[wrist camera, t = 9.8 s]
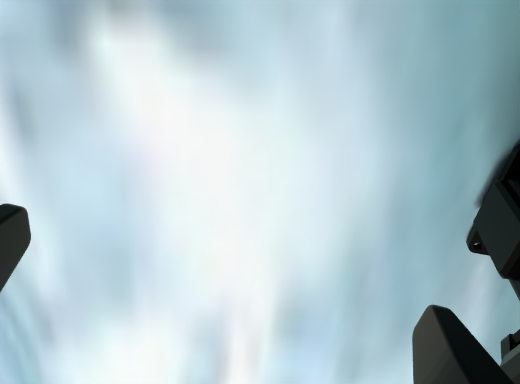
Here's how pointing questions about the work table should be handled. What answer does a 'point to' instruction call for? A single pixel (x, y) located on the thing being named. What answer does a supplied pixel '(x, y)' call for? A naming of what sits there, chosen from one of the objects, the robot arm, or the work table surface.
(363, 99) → the work table surface
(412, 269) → the work table surface
